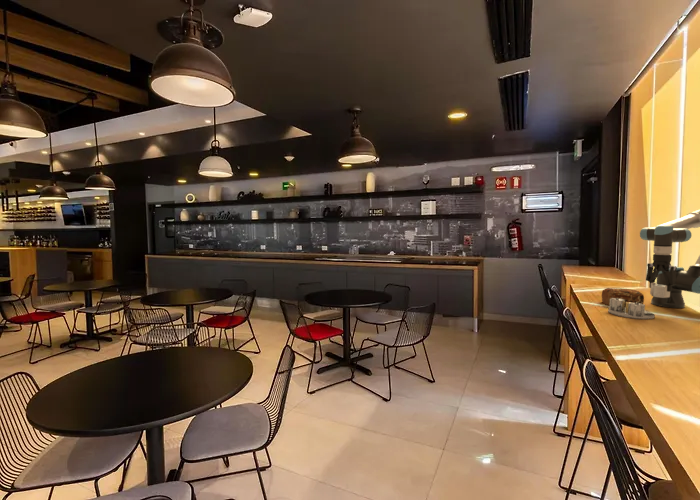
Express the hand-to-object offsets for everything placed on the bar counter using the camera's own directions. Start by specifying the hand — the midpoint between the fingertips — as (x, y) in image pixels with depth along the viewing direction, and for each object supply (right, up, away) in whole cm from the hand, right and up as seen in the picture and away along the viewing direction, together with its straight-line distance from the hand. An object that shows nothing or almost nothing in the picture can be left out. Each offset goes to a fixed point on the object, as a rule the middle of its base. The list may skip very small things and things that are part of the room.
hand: (659, 295), depth 196 cm
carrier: (-15, -10, +1) cm, 18 cm away
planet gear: (0, 0, 0) cm, 1 cm away
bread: (-4, -9, +22) cm, 24 cm away
